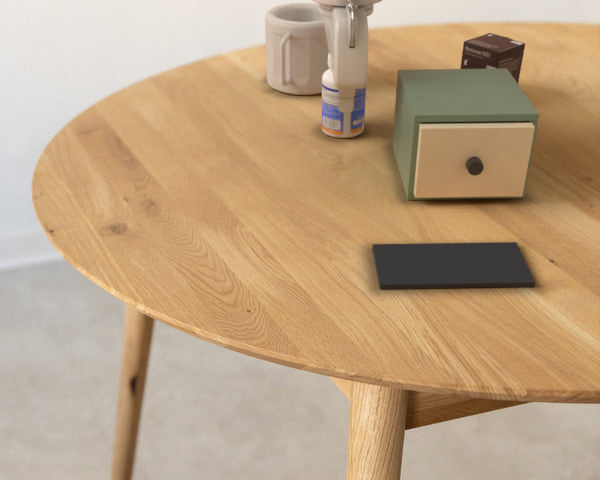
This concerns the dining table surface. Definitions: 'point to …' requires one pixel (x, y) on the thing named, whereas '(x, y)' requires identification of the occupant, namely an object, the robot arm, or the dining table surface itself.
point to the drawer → (472, 159)
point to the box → (493, 54)
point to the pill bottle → (332, 117)
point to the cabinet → (453, 109)
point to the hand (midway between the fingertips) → (343, 98)
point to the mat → (451, 265)
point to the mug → (296, 48)
